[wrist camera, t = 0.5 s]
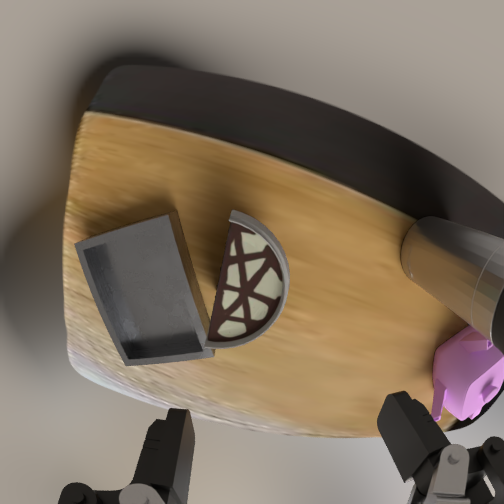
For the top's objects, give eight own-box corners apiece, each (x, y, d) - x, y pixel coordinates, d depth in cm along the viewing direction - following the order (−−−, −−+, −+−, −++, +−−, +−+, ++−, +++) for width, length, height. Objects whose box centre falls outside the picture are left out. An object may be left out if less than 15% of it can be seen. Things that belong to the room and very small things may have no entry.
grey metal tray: (176, 210, 29) (168, 214, 26) (216, 340, 34) (214, 356, 30) (89, 237, 30) (74, 243, 27) (134, 351, 34) (125, 366, 31)
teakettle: (454, 392, 40) (480, 428, 28) (404, 390, 38) (433, 438, 26) (497, 324, 35) (533, 354, 24) (456, 308, 34) (503, 346, 22)
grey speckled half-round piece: (265, 313, 33) (271, 364, 23) (215, 303, 32) (203, 351, 23) (291, 213, 30) (312, 231, 20) (236, 201, 29) (230, 212, 20)
